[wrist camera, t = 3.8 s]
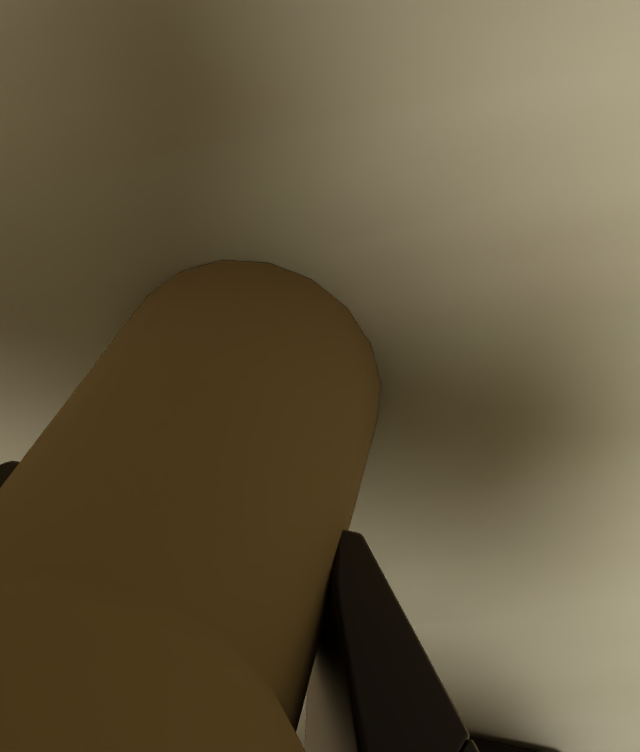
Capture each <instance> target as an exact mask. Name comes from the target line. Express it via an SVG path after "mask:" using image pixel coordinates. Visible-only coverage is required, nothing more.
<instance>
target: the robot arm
mask: <svg viewBox="0 0 640 752" xmlns="http://www.w3.org/2000/svg"><path fill="white" fill-rule="evenodd" d="M19 463H20V462H18V461H9V462H6V463H3V464H1V465H0V488H1V486H2V485H3V484H4V482H5V481H6V480H7V478H8V477H9V476H10V475H11V473H12V472H13V471H14V469H15V468H16V467H17V465H18V464H19ZM305 752H535V751H531V750H526V749H521V748H516V747H512V746H507V745H502V744H497V743H493V742H488V741H483V740H479V739H474V738H469V732H468V730H467V728H466V727H465V725H464V723H463V721H462V719H461V717H460V715H459V714H458V712H457V710H456V708H455V706H454V704H453V702H452V701H451V699H450V697H449V695H448V693H447V691H446V689H445V688H444V686H443V684H442V682H441V680H440V678H439V676H438V675H437V673H436V671H435V669H434V667H433V665H432V663H431V662H430V660H429V658H428V656H427V654H426V652H425V650H424V649H423V647H422V645H421V643H420V641H419V639H418V637H417V636H416V634H415V632H414V630H413V628H412V626H411V624H410V623H409V621H408V619H407V617H406V615H405V613H404V611H403V610H402V608H401V606H400V604H399V602H398V600H397V598H396V597H395V595H394V593H393V591H392V589H391V587H390V585H389V584H388V582H387V580H386V578H385V576H384V574H383V572H382V571H381V569H380V567H379V565H378V563H377V561H376V559H375V558H374V556H373V554H372V552H371V550H370V548H369V546H368V545H367V543H366V541H365V539H364V537H363V536H362V535H361V534H360V533H357V532H352V531H348V530H343V531H342V534H341V537H340V540H339V543H338V546H337V549H336V553H335V556H334V560H333V565H332V571H331V577H330V583H329V588H328V594H327V600H326V606H325V613H324V619H323V625H322V632H321V638H320V642H319V645H318V649H317V653H316V657H315V661H314V665H313V668H312V672H311V676H310V680H309V684H308V688H307V698H306V729H305Z"/></svg>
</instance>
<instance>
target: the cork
mask: <svg viewBox="0 0 640 752" xmlns="http://www.w3.org/2000/svg"><path fill="white" fill-rule="evenodd" d="M380 384H381V382H380V378H379V374H378V371H377V367H376V363H375V359H374V355H373V351H372V347H371V344H370V342H369V341H368V339H367V337H366V336H365V334H364V333H363V331H362V330H361V328H360V327H359V325H358V324H357V322H356V321H355V319H354V318H353V316H352V315H351V313H350V312H349V310H348V309H347V307H345V306H344V305H343V304H342V303H340V302H339V301H338V300H337V299H335V298H334V297H333V296H332V295H330V294H329V293H328V292H327V291H325V290H324V289H323V288H322V287H320V286H319V285H318V284H317V283H315V282H314V281H313V280H312V279H309V278H307V277H304V276H301V275H299V274H296V273H294V272H291V271H288V270H286V269H283V268H281V267H278V266H276V265H273V264H270V263H263V262H246V261H230V260H222V261H218V262H215V263H211V264H207V265H204V266H200V267H196V268H193V269H189V270H185V271H182V272H180V273H179V274H177V275H176V276H175V277H173V278H172V279H170V280H169V281H168V282H166V283H165V284H163V285H162V286H160V287H159V288H158V289H156V290H155V291H153V292H152V293H151V294H149V295H148V296H147V298H146V299H145V300H144V301H143V303H142V304H141V305H140V307H139V308H138V309H137V311H136V312H135V313H134V314H133V316H132V317H131V318H130V320H129V321H128V322H127V324H126V325H125V326H124V327H123V329H122V330H121V331H120V333H119V334H118V335H117V337H116V338H115V339H114V340H113V342H112V343H111V344H110V346H109V347H108V348H107V350H106V351H105V352H104V353H103V355H102V356H101V357H100V359H99V360H98V361H97V363H96V364H95V365H94V366H93V368H92V369H91V370H90V372H89V373H88V374H87V376H86V377H85V378H84V380H83V381H82V382H81V383H80V385H79V386H78V387H77V389H76V390H75V391H74V393H73V394H72V395H71V396H70V398H69V399H68V400H67V402H66V403H65V404H64V406H63V407H62V408H61V409H60V411H59V412H58V413H57V415H56V416H55V417H54V419H53V420H52V421H51V422H50V424H49V425H48V426H47V428H46V429H45V430H44V432H43V433H42V434H41V435H40V437H39V438H38V439H37V441H36V442H35V443H34V445H33V446H32V447H31V448H30V450H29V451H28V452H27V454H26V455H25V456H24V458H23V459H22V460H21V461H20V463H19V464H18V465H17V467H16V468H15V469H14V471H13V472H12V473H11V475H10V476H9V477H8V478H7V480H6V481H5V482H4V484H3V485H2V486H1V488H0V752H305V751H304V748H303V746H302V744H301V742H300V740H299V738H298V736H297V734H296V730H297V726H298V722H299V718H300V715H301V711H302V707H303V703H304V699H305V695H306V692H307V688H308V684H309V680H310V676H311V672H312V668H313V665H314V661H315V657H316V653H317V649H318V645H319V642H320V638H321V632H322V625H323V619H324V613H325V606H326V600H327V594H328V588H329V583H330V577H331V571H332V565H333V560H334V556H335V553H336V549H337V546H338V543H339V540H340V537H341V534H342V531H343V530H349V526H350V522H351V519H352V515H353V511H354V507H355V503H356V499H357V495H358V492H359V488H360V484H361V480H362V476H363V472H364V469H365V465H366V461H367V457H368V453H369V449H370V445H371V442H372V438H373V434H374V430H375V426H376V422H377V416H378V405H379V394H380Z"/></svg>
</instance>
